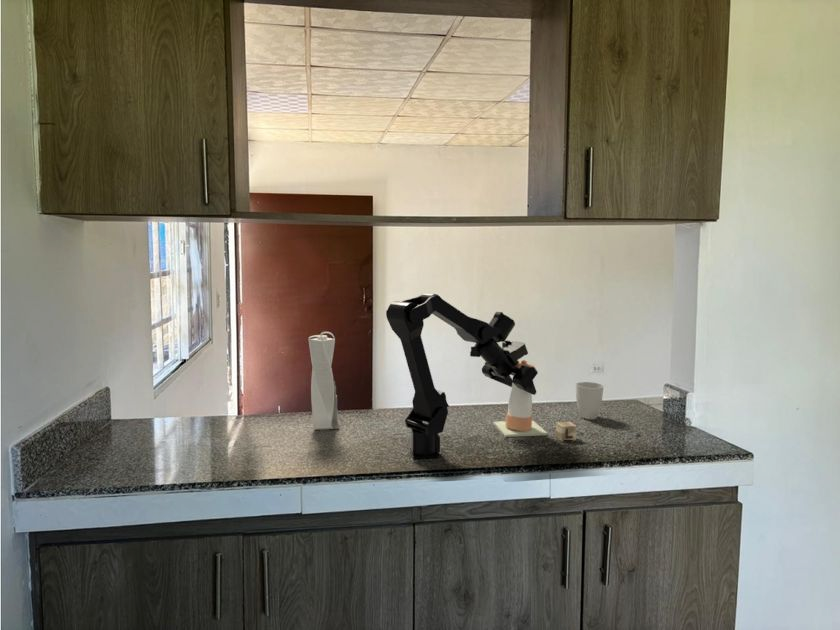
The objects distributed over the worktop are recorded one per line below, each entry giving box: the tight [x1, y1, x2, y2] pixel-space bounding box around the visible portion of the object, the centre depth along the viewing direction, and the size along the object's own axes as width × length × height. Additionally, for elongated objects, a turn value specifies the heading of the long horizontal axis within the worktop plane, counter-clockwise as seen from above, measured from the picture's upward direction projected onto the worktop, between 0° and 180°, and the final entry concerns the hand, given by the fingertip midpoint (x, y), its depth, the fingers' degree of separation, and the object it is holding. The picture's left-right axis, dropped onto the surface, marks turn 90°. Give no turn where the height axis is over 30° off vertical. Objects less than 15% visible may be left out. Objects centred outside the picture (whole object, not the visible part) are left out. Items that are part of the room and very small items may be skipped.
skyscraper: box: [308, 331, 340, 431], centre depth 158 cm, size 8×8×28 cm
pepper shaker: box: [505, 359, 536, 431], centre depth 158 cm, size 7×7×19 cm
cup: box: [575, 381, 605, 420], centre depth 171 cm, size 8×8×10 cm
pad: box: [492, 419, 549, 438], centre depth 159 cm, size 12×12×1 cm
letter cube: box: [555, 421, 577, 442], centre depth 151 cm, size 4×4×4 cm
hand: (524, 390), depth 159 cm, fingers open, 9 cm apart
